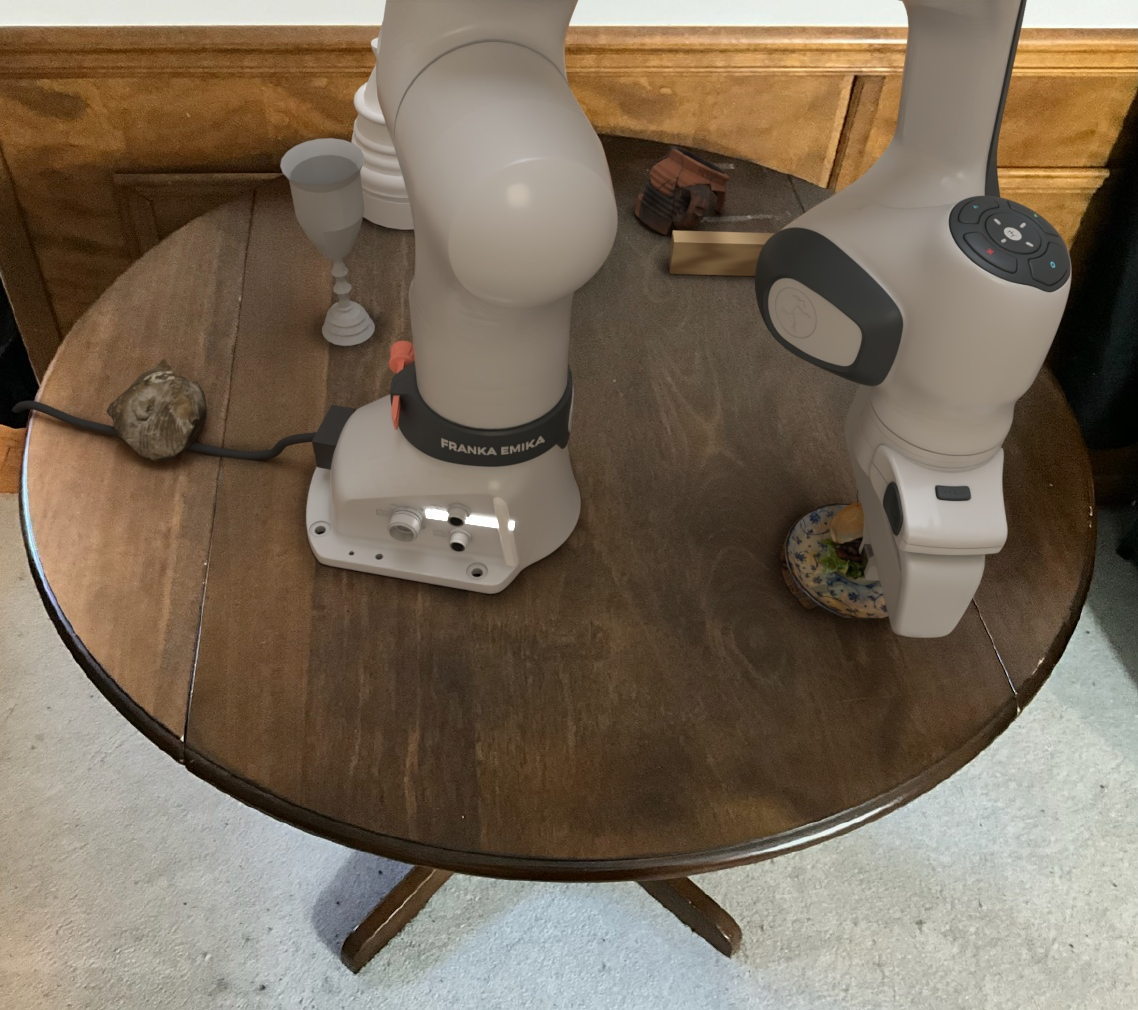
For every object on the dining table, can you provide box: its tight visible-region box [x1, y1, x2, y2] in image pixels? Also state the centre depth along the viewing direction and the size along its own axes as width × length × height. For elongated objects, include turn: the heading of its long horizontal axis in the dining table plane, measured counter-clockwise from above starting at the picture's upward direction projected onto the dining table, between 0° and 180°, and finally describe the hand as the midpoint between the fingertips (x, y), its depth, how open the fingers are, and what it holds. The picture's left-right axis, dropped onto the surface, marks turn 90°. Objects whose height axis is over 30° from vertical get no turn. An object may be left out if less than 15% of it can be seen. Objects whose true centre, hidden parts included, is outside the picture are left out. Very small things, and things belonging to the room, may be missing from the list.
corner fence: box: [667, 230, 776, 277], centre depth 102 cm, size 21×21×4 cm
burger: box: [779, 488, 889, 621], centre depth 81 cm, size 12×12×8 cm
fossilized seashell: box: [106, 358, 208, 462], centre depth 89 cm, size 8×7×10 cm
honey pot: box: [351, 37, 414, 231], centre depth 109 cm, size 13×13×18 cm
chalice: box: [279, 137, 376, 347], centre depth 94 cm, size 7×7×18 cm
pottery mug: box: [634, 145, 730, 236], centre depth 113 cm, size 12×10×8 cm
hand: (872, 566), depth 79 cm, fingers closed
